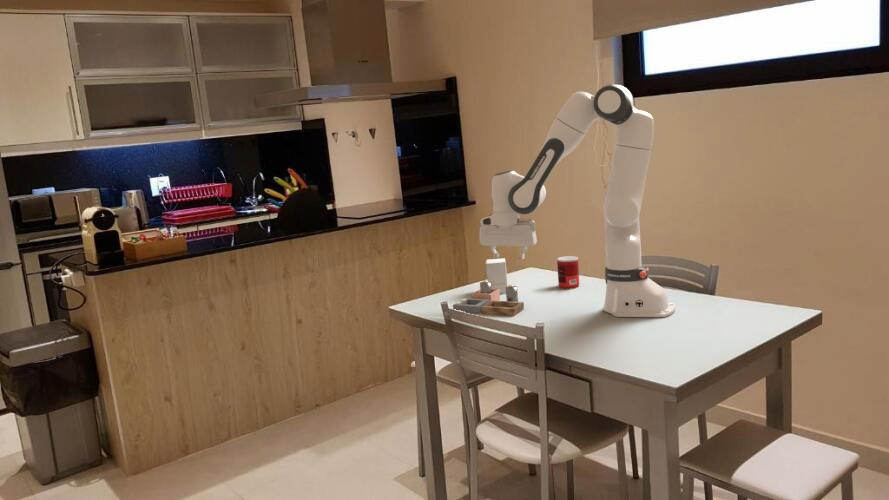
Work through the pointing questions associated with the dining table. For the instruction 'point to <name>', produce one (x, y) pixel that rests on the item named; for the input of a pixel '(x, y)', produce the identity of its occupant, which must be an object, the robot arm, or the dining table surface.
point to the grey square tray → (471, 305)
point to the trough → (503, 308)
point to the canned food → (568, 272)
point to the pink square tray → (487, 295)
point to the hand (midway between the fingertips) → (509, 258)
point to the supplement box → (497, 274)
